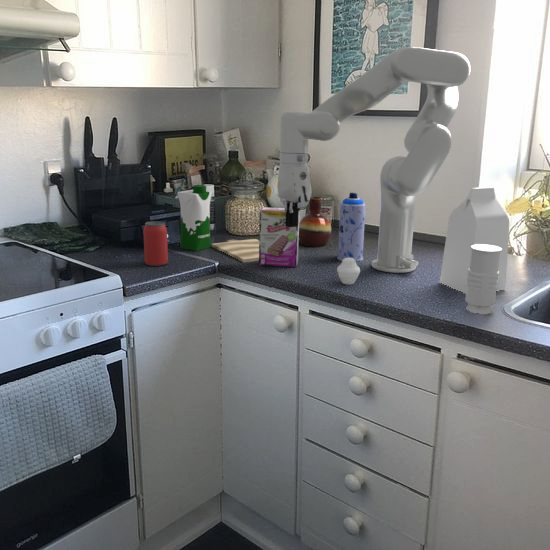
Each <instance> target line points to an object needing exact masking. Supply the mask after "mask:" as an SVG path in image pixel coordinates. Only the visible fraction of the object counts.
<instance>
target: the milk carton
mask: <svg viewBox="0 0 550 550" xmlns="http://www.w3.org/2000/svg"><path fill="white" fill-rule="evenodd" d="M212 194H213V192H212V191H209V190H207V186H206V185H205V184H195V185H193V186H192V189H190V190H189V189H188V190H184V191H183V190H182V191H177V196H178V200H179V204H180V243H179V245H180V247H179V248H180V249H183V250H190V251H193V252H198V251H202V250H206V249H209V248H212V239H211V219H210V218H211V217H210V215H211V214H210V213H211V211H210V209H211V201H212V200H211V199H212Z"/></svg>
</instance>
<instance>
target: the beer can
mask: <svg viewBox="0 0 550 550" xmlns="http://www.w3.org/2000/svg"><path fill="white" fill-rule="evenodd" d="M142 234H143V252H144V253H143V254H144V263H145V264H146V265H147V266H149V265H150V266H149V267H162V266H165V265H166V264H168V262H169V257H168V255H169V254H168V253H169V252H168V251H169V250H168V249H169V248H168V229H167V227H166V223H165V222H164V221H158V220H156V221H155V220H153V221H152V220H151V221H146V222H145V223H144V227H143V233H142ZM161 265H162V266H161Z"/></svg>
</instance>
